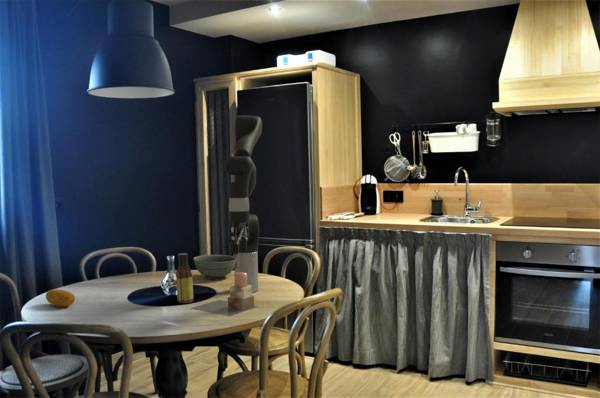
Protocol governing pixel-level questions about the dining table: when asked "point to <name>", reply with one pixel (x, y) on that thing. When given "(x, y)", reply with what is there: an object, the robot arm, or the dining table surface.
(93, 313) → the dining table surface
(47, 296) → the potato
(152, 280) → the dining table surface
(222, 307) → the slate board
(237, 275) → the pink cube
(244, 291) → the birch block
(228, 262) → the bowl
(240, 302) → the walnut block
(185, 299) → the sauce bottle
